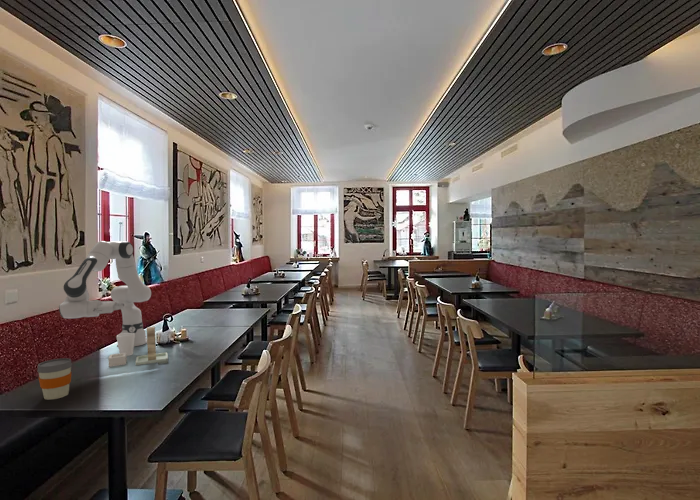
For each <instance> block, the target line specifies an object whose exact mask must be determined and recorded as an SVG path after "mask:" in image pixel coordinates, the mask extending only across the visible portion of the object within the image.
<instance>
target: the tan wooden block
mask: <svg viewBox="0 0 700 500" xmlns="http://www.w3.org/2000/svg"><path fill="white" fill-rule="evenodd" d="M146 338H147V343H146V345H147V346H146V347H147V355H148V360H156V354H157V350H156V348H157V347H156V327H155V326H147V327H146Z"/></svg>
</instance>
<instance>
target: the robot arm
mask: <svg viewBox="0 0 700 500" xmlns="http://www.w3.org/2000/svg"><path fill="white" fill-rule="evenodd" d="M133 253H134V246H133V244H132V243H131V242H130V241H127V240H112V241H105V240H99V241H98V242H96V243H95V244H94V245H93V246H92V247H91V249H90V251H89V252H88V254H87V256H86V258H85V259H84V260H83V261H82V263H81V264H80V265H79V267H78V268H77V270H76V271H75V273H74V274H73V275H72V276H71V277H70V278H69V279H67V280H66V282H64V285H63V291H64V293H65V294H66V298H65V299H64V300H63V301H62V303H60V304H59V305H58V310H59V314H60V316H61V318H63V319H67V320H68V319H80V318H93V317H94V318H95V317H99V316H100V315H102V314H112V313H113V312H114V311H118V310H120V311H121V315H122V325H121V328H122V331H121V332H120V333H119V334H123V333H135V338H134V347H139V346H142V345H143V346H144V345H145V344H146V345H147V332H146V330H145V329H144V323H143V319H142V318H143V317H142V311H141V309H140V308H139V307H137V306H136V305H135V303H144V302H147V301H149V300H150V299H151V296H152V290H151V288H150V287H149V286H148V285H146V284H144V282H143V281H142V280H141V278H140V277H139V273H138V271H137V266H136V261H135V257H134V254H133ZM110 260H115V267H116V272H117V277H118V280H119V281H121V282H123V283H124V285H119V286H115V287H113V288H112V289H111V292H110V299H111V300H112V301H111V300H109V301H107V300H105V301H104V300H102V301H101V300H100V299H99V300H98V299H94V300H91V299H90V293H89V289H88V287H87V280H88V279H89V277H90V275H91V273H92V272H102V271H104V269H105V268H106V267H107V265H108V263H109V261H110ZM116 347H118V344H117V345H116Z"/></svg>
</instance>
